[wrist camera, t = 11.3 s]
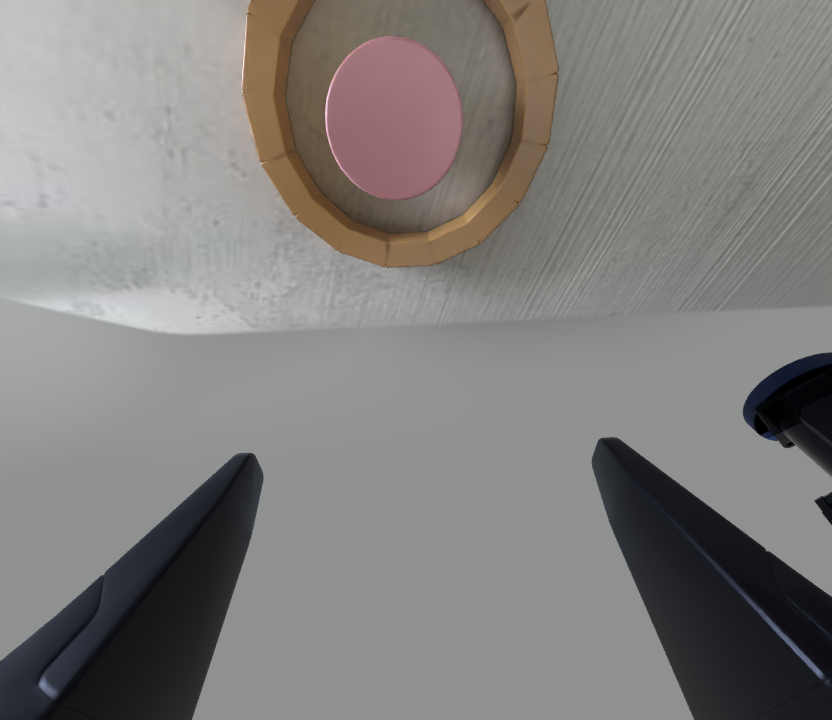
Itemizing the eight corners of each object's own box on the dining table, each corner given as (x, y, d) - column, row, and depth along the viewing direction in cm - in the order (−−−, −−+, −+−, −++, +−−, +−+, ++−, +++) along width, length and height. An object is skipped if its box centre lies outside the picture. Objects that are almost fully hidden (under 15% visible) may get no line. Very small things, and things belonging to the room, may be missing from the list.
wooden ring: (601, 106, 15) (618, 106, 14) (412, 299, 20) (412, 312, 19) (381, -228, 11) (377, -271, 9) (205, 130, 16) (188, 132, 14)
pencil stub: (453, 113, 15) (492, 121, 8) (405, 172, 17) (401, 227, 9) (398, 50, 14) (384, -10, 7) (352, 119, 15) (297, 132, 8)
